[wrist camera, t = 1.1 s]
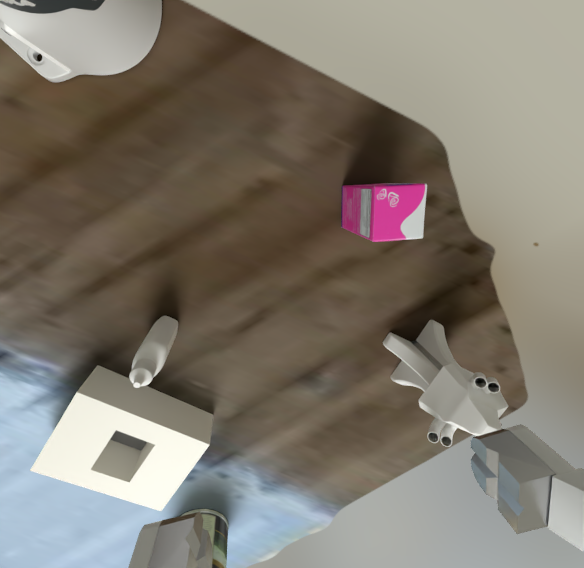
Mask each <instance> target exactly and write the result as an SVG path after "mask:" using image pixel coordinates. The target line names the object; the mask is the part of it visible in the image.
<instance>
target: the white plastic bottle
mask: <svg viewBox="0 0 584 568" xmlns="http://www.w3.org/2000/svg"><path fill="white" fill-rule="evenodd" d="M177 331H178V321H177V320H175V319H173V318H171V317H168V316H162V317H161V318H159V319H158V320H157V321H156V322H155V323H154V325H153V326H152V328H151V329H150V331H149V333H148V334H147V336H146V338H145V339H144V341H143V343H142V344H141V346H140V348H139V349H138V351H137V353H136V355H135V357H134V359H133V362H132V370H131V372H130V375H129V378H130V381H131V382H132V383H133V386H134V387H135V388H139V387H140V386H146V385H148V384H149V383H150V382H151V381H152V379H153V377H154V376H156V375H157V374H158V373H159V371H160V370H161V369H162V367H163V365H164V363H165V361H166V358H167V356H168V354H169V351H170V349H171V346H172V344H173V342H174V339H175V337H176V334H177Z"/></svg>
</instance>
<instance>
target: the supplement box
mask: <svg viewBox="0 0 584 568" xmlns="http://www.w3.org/2000/svg"><path fill="white" fill-rule="evenodd" d="M426 191H427V184H415V183H382V184H364V185H343V186H342V228H344V229H347V230H349V231H351V232H353V233H355V234H358V235H360V236H362V237H364V238H366V239H368V240H371V241H373V242H379V241H394V240H407V239H420V238H423V228H424V214H425V202H426Z"/></svg>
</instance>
